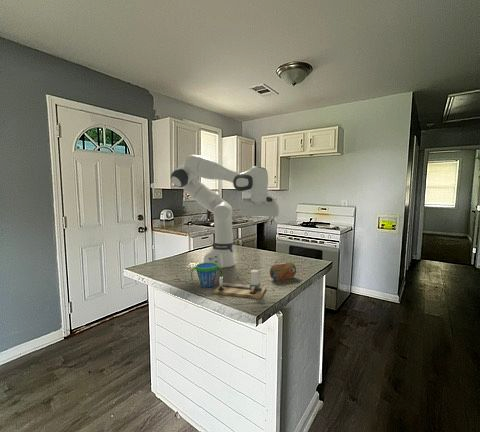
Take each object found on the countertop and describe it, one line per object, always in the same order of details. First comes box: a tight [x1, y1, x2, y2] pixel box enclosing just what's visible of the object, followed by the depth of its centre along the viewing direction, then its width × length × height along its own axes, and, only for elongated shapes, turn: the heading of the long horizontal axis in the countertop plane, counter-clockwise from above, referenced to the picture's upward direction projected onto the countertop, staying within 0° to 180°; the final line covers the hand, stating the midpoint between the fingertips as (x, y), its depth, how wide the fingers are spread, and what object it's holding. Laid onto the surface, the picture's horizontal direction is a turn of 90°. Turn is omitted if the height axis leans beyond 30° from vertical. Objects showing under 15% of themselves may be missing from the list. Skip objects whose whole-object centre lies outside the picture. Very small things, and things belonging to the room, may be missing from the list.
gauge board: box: [212, 281, 267, 300], centre depth 124 cm, size 22×12×2 cm, turn 72°
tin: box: [269, 262, 297, 282], centre depth 140 cm, size 15×3×8 cm, turn 114°
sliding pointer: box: [249, 269, 261, 293], centre depth 121 cm, size 4×7×8 cm, turn 162°
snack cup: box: [190, 262, 224, 289], centre depth 132 cm, size 16×10×10 cm
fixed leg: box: [218, 276, 224, 290], centre depth 123 cm, size 2×2×6 cm
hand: (259, 225), depth 139 cm, fingers open, 8 cm apart
